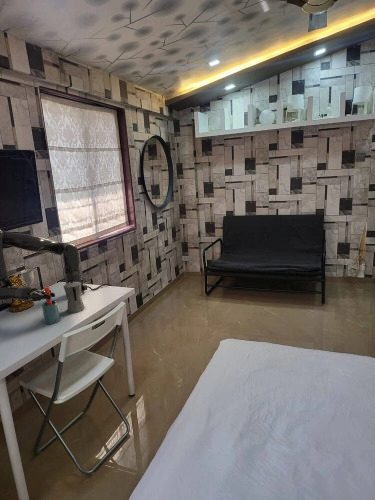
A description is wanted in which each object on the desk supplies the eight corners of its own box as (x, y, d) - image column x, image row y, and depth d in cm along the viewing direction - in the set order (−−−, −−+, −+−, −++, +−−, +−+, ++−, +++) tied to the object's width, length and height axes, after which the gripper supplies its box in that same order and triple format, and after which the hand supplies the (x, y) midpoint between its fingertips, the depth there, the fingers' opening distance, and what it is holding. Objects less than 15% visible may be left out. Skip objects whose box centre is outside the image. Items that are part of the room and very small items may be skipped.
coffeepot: (66, 307, 190) (61, 277, 185) (83, 303, 193) (78, 274, 189) (69, 317, 176) (64, 285, 172) (87, 313, 180) (82, 282, 176)
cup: (54, 317, 178) (51, 299, 175) (62, 319, 174) (59, 302, 171) (42, 322, 172) (38, 304, 170) (50, 325, 168) (47, 307, 166)
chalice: (33, 300, 204) (28, 272, 200) (23, 299, 206) (18, 272, 202) (40, 295, 211) (35, 268, 207) (31, 295, 213) (26, 268, 208)
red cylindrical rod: (51, 311, 173) (47, 286, 170) (54, 312, 172) (49, 287, 169) (47, 313, 171) (42, 287, 168) (50, 314, 170) (45, 288, 167)
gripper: (14, 291, 167) (41, 294, 161) (35, 282, 180) (60, 284, 174) (17, 305, 169) (43, 308, 163) (37, 295, 182) (63, 297, 176)
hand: (52, 296), depth 168 cm, fingers closed on red cylindrical rod, 2 cm apart
